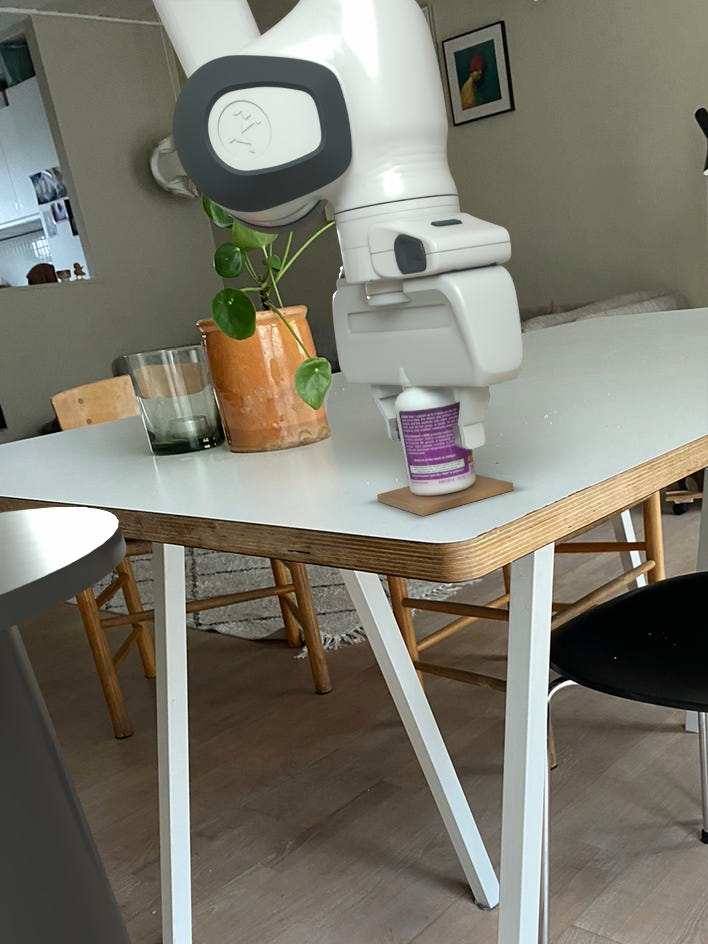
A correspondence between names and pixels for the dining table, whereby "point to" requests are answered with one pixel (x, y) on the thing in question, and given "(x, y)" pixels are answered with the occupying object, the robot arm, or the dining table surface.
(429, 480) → the pill bottle
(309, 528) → the dining table surface
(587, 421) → the dining table surface
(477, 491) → the coaster
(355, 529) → the dining table surface
